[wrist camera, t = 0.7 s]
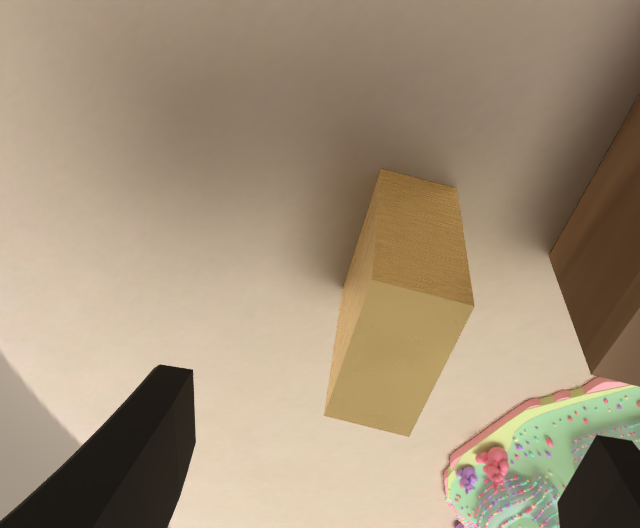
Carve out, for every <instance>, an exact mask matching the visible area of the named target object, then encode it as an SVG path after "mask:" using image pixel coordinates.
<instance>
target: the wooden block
mask: <svg viewBox="0 0 640 528" xmlns="http://www.w3.org/2000/svg"><path fill="white" fill-rule="evenodd" d="M473 308H474V300H473V293H472V286H471V280H470V273H469V267H468V260H467V253H466V247H465V240H464V233H463V227H462V220H461V214H460V207H459V200H458V194H457V188H453V187H449V186H445V185H441V184H438V183H434V182H430V181H426V180H422V179H419V178H415V177H411V176H407V175H403V174H400V173H396V172H392V171H388V170H384V169H381V170H380V173H379V176H378V180H377V183H376V186H375V189H374V192H373V195H372V199H371V202H370V205H369V208H368V211H367V214H366V217H365V221H364V224H363V227H362V230H361V233H360V236H359V239H358V243H357V246H356V249H355V252H354V255H353V258H352V262H351V265H350V268H349V271H348V274H347V277H346V280H345V284H344V287H343V291H342V298H341V305H340V311H339V318H338V325H337V331H336V338H335V345H334V351H333V358H332V365H331V372H330V378H329V385H328V392H327V398H326V405H325V412H324V416H328V417H332V418H336V419H340V420H344V421H348V422H352V423H356V424H360V425H364V426H368V427H372V428H376V429H380V430H384V431H388V432H392V433H396V434H400V435H404V436H408V437H409V436H410V434H411V432H412V430H413V428H414V426H415V424H416V422H417V420H418V418H419V416H420V414H421V412H422V410H423V408H424V406H425V404H426V402H427V400H428V398H429V396H430V394H431V392H432V390H433V388H434V386H435V384H436V382H437V380H438V378H439V376H440V374H441V372H442V370H443V368H444V366H445V364H446V362H447V360H448V358H449V356H450V354H451V352H452V350H453V348H454V346H455V344H456V342H457V340H458V338H459V336H460V334H461V332H462V330H463V328H464V326H465V324H466V322H467V320H468V318H469V316H470V314H471V312H472V310H473Z"/></svg>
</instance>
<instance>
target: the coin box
mask: <svg viewBox="0 0 640 528" xmlns="http://www.w3.org/2000/svg"><path fill="white" fill-rule="evenodd" d="M549 258H550V261H551V264H552V267H553V270H554V272H555V275H556V278H557V281H558V283H559V286H560V289H561V292H562V295H563V297H564V300H565V303H566V306H567V309H568V311H569V314H570V317H571V320H572V322H573V325H574V328H575V331H576V334H577V336H578V339H579V342H580V345H581V347H582V350H583V353H584V356H585V359H586V361H587V364H588V367H589V370H590V373H591V375H595V376H599V377H603V378H607V379H611V380H614V381H618V382H622V383H626V384H630V385H634V386H638V387H640V94H639V96H638V98H637V100H636V102H635V103H634V105H633V107H632V109H631V110H630V112H629V114H628V116H627V118H626V119H625V121H624V123H623V125H622V126H621V128H620V130H619V132H618V134H617V135H616V137H615V139H614V141H613V142H612V144H611V146H610V148H609V150H608V151H607V153H606V155H605V157H604V159H603V160H602V162H601V164H600V166H599V167H598V169H597V171H596V173H595V175H594V176H593V178H592V180H591V182H590V183H589V185H588V187H587V189H586V191H585V192H584V194H583V196H582V198H581V199H580V201H579V203H578V205H577V207H576V208H575V210H574V212H573V214H572V215H571V217H570V219H569V221H568V223H567V224H566V226H565V228H564V230H563V231H562V233H561V235H560V237H559V239H558V240H557V242H556V244H555V246H554V247H553V249H552V251H551V253H550V255H549Z"/></svg>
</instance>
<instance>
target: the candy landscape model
mask: <svg viewBox="0 0 640 528" xmlns="http://www.w3.org/2000/svg"><path fill="white" fill-rule="evenodd" d="M596 435H601V436H607V437H613V438H619V439H626V440H632V441H633V443H634V444H635V445H636V446H637V448H638V449H639V450H640V387H638V386H634V385H630V384H626V383H622V382H618V381H614V380H611V379H607V378H603V377H596V378H595V379H593V380H592V381H590V382H589V383H587V384H586V385H584V386H583V387H580V388H576V389H573V390H563V391H559V392H557V393H555V394H553V395H551V396H547V397H543V398H533V399H530V400H527V401H526V402H524V403H523V404H521V405H519V406H518V407H516V408H515V409H513V410H512V411H510V412H509V413H508V414H506V415H505V416H503V417H502V418H501V419H499V420H498V421H496V422H495V423H494V424H492V425H491V426H489V427H488V428H487V429H485V430H484V431H483V432H481V433H480V434H478V435H477V436H476V437H474V438H473V439H471V440H470V441H469V442H467V443H466V444H464V445H463V446H462V447H460V448H459V449H457V450H456V451H455V452H453V453H452V454H451V456H450V465H449V467H448V468H447V469H446V470H445V471H444V484H445V493H446V497H445V500H446V501H447V503H448V505H449V506H450V507H452V508H453V509H455V511H456V512H457V517H458V521H460V523H459V524H458V525H457V526H456V528H560V525H559V516H558V506H557V502H558V500H559V498H560V497H561V495H562V493H563V492H564V490H565V488H566V486H567V485H568V483H569V481H570V480H571V478H572V476H573V474H574V473H575V471H576V469H577V468H578V466H579V464H580V462H581V461H582V459H583V457H584V455H585V454H586V452H587V450H588V449H589V447H590V445H591V443H592V442H593V440H594V438H595V437H596Z"/></svg>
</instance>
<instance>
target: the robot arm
mask: <svg viewBox="0 0 640 528" xmlns="http://www.w3.org/2000/svg"><path fill="white" fill-rule="evenodd" d="M195 443H196V437H195V411H194V385H193V370H191V369H185V368H179V367H172V366H166V365H158V366H157V367H155V368H154V369H153V370H152V371H151V372H150V374H149V375H148V376H147V377H146V378H145V379H144V381H143V382H142V383H141V384H140V385H139V386H138V387H137V388H136V390H135V391H134V392H133V393H132V394H131V395H130V396H129V397H128V398H127V400H126V401H125V402H124V403H123V404H122V405H121V406H120V407H119V408H118V409H117V410H116V411H115V412H114V414H113V415H112V416H111V417H110V418H109V419H108V420H107V421H106V422H105V423H104V424H103V425H102V426H101V427H100V428H99V429H98V430H97V431H96V432H95V433H94V434H93V435H92V436H91V437H90V438H89V439H88V440H87V441H86V442H85V443H84V444H83V445H82V446H81V447H80V448H79V450H77V451H76V452H75V453H74V454H73V455H72V456H71V457H70V458H69V459H68V460H67V461H66V462H65V463H64V464H63V465H62V466H61V467H60V468H59V469H58V470H57V471H56V472H54V473H53V474H52V475H51V476H50V477H49V478H48V479H47V480H46V481H45V482H44V483H42V484H41V485H40V486H39V487H38V488H37V489H36V490H35V491H34V492H33V493H32V494H30V495H29V496H28V497H27V498H26V499H25V500H24V501H23V502H22V503H21V504H19V506H17V507H16V508H15V509H14V510H13V511H11V512H10V513H9V514H8V515H7V516H6V517H5V518H3V519H2V520H1V521H0V528H167V527H168V525H169V522H170V520H171V517H172V515H173V512H174V510H175V507H176V505H177V502H178V500H179V497H180V495H181V491H182V488H183V485H184V481H185V478H186V475H187V471H188V468H189V464H190V461H191V457H192V454H193V450H194V447H195ZM557 506H558V516H559V525H560V528H640V450H639V449H638V448H637V446H636V445H635V444H634V443H633V441H632V440H626V439H619V438H613V437H607V436H601V435H596V437H595V438H594V440H593V442H592V443H591V445H590V447H589V449H588V450H587V452H586V454H585V455H584V457H583V459H582V461H581V462H580V464H579V466H578V468H577V469H576V471H575V473H574V474H573V476H572V478H571V480H570V481H569V483H568V485H567V486H566V488H565V490H564V492H563V493H562V495H561V497H560V498H559V500H558V502H557Z"/></svg>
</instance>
